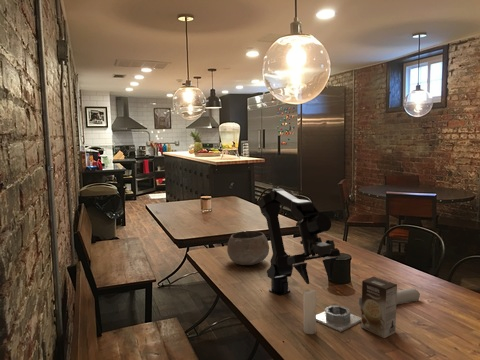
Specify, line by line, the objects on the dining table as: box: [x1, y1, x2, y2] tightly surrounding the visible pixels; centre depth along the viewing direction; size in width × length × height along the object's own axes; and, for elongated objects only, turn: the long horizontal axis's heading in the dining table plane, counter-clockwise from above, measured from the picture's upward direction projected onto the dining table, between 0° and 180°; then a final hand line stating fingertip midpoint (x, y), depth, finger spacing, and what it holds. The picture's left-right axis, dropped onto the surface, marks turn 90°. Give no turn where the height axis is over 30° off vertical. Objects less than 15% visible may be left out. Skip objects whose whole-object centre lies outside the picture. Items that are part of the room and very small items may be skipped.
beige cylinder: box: [302, 289, 317, 335], centre depth 127 cm, size 4×4×13 cm
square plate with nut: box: [316, 305, 362, 333], centre depth 135 cm, size 12×12×3 cm
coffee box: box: [360, 275, 398, 339], centre depth 127 cm, size 9×6×16 cm
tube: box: [358, 287, 421, 310], centre depth 146 cm, size 5×5×25 cm
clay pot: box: [226, 230, 270, 266], centre depth 197 cm, size 21×21×15 cm
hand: (319, 281), depth 135 cm, fingers open, 9 cm apart
